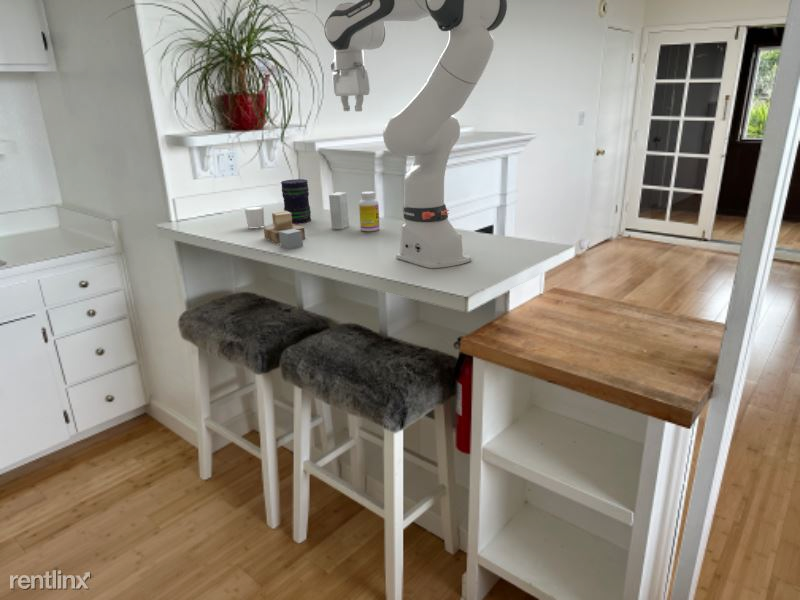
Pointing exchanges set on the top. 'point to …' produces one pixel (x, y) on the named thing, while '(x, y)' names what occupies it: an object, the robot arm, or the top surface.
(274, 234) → the walnut block
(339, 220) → the skincare box
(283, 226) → the oak cube
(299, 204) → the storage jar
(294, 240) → the grey cube
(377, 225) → the supplement bottle
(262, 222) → the shot glass
